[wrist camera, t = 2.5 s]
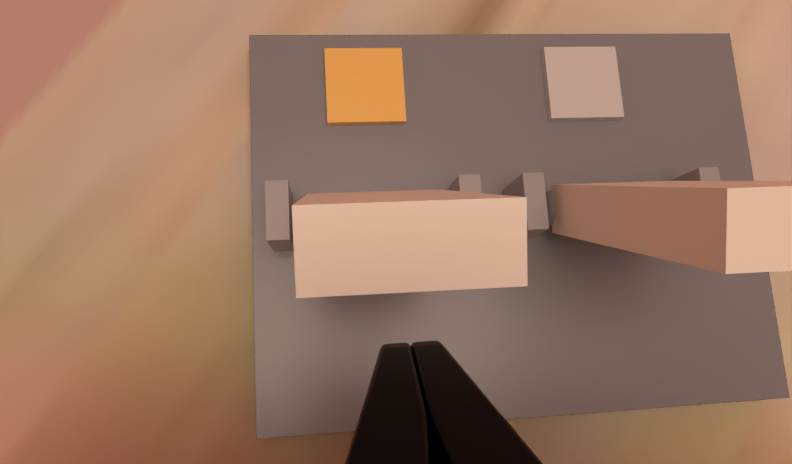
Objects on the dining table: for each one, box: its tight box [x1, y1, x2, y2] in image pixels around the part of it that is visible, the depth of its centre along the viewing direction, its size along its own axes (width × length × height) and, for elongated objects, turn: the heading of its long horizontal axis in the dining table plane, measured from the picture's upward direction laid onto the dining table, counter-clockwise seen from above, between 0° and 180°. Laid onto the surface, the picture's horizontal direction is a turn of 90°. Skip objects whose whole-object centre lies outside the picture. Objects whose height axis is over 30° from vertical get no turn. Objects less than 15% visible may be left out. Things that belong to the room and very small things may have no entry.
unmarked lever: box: [546, 181, 792, 274], centre depth 14 cm, size 1×4×8 cm, turn 93°
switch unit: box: [249, 34, 790, 439], centre depth 18 cm, size 12×16×3 cm
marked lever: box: [292, 189, 528, 298], centre depth 13 cm, size 1×4×8 cm, turn 93°
